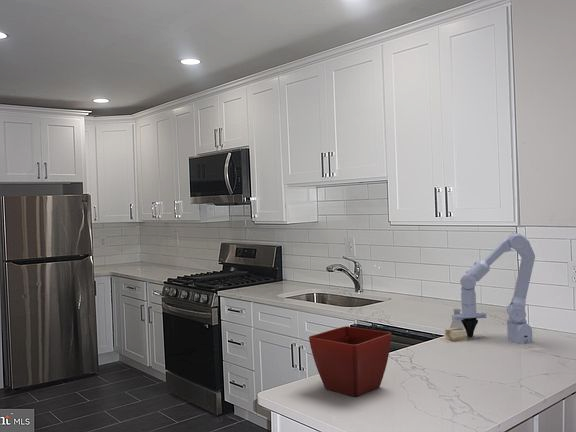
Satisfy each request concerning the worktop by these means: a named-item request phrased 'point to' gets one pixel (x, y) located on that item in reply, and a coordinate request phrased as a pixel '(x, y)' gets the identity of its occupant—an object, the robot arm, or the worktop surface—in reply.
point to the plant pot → (351, 358)
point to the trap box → (469, 338)
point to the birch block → (455, 334)
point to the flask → (457, 323)
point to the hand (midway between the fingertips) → (470, 336)
